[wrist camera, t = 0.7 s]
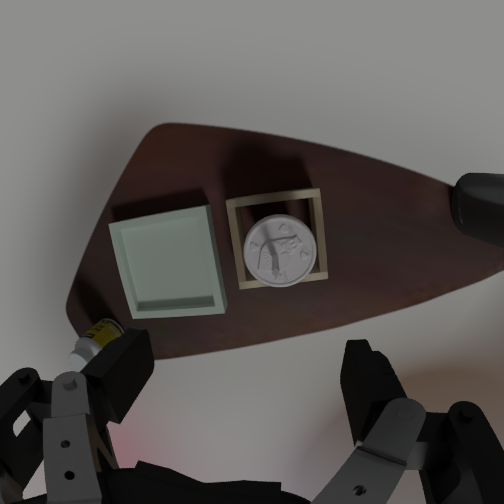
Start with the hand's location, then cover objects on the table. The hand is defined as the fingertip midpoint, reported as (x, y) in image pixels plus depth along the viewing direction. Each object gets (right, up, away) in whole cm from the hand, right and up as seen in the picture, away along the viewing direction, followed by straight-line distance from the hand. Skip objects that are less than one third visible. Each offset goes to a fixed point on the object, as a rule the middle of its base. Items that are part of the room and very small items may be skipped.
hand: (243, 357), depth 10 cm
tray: (-10, +3, +25) cm, 27 cm away
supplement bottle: (-22, -8, +29) cm, 37 cm away
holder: (+3, +6, +23) cm, 24 cm away
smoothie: (+3, +6, +23) cm, 24 cm away
